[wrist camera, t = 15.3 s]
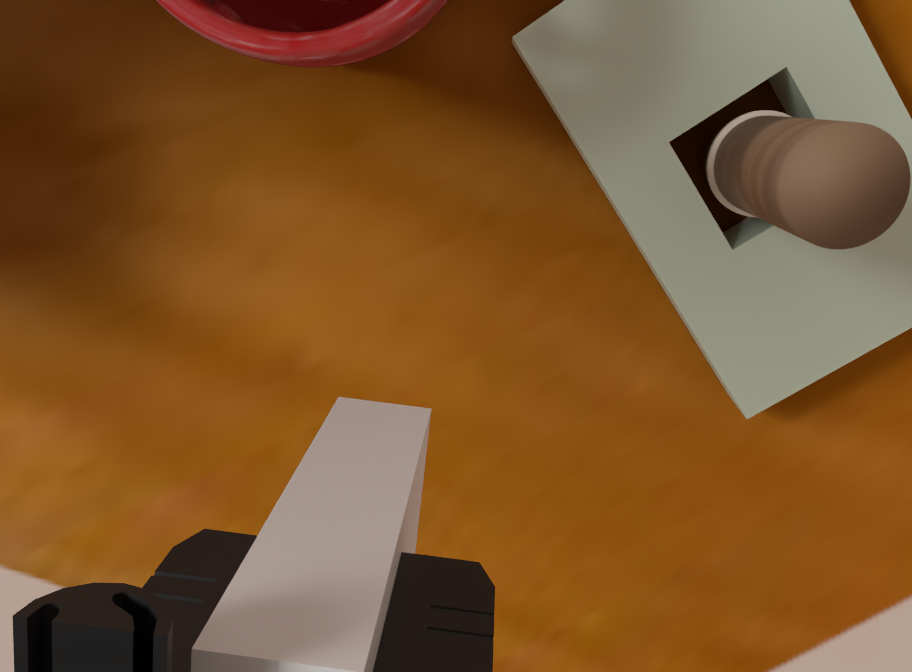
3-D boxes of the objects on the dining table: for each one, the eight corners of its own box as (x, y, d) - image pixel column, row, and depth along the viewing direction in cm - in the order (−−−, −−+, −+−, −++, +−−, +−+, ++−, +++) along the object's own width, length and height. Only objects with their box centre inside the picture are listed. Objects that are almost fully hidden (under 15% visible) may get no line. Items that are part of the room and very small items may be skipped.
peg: (670, 144, 40) (749, 167, 27) (755, 89, 39) (877, 86, 26) (718, 223, 40) (815, 281, 28) (802, 171, 40) (941, 206, 27)
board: (511, 42, 39) (511, 37, 35) (748, -122, 37) (772, -145, 33) (728, 394, 43) (747, 419, 39) (955, 265, 40) (996, 280, 37)
